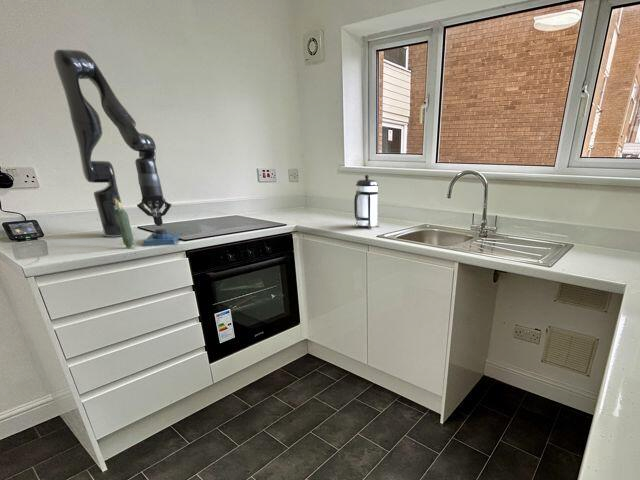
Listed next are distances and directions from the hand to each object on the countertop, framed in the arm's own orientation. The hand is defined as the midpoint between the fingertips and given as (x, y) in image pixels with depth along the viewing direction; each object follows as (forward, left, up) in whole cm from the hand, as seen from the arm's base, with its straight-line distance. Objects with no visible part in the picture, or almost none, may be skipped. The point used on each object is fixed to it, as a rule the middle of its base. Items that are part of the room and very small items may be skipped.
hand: (159, 225), depth 155 cm
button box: (0, 0, -7) cm, 7 cm away
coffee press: (-17, +102, -8) cm, 104 cm away
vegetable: (+11, -10, -8) cm, 17 cm away
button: (0, 0, -4) cm, 4 cm away
